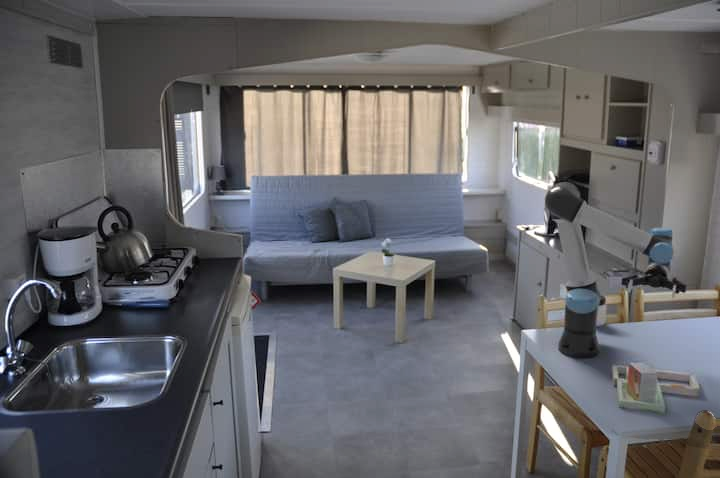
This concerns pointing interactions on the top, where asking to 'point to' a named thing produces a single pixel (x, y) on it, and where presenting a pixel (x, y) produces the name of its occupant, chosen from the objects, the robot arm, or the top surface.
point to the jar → (601, 312)
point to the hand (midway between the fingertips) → (650, 291)
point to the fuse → (626, 372)
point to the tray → (631, 403)
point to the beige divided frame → (672, 388)
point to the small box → (642, 382)
